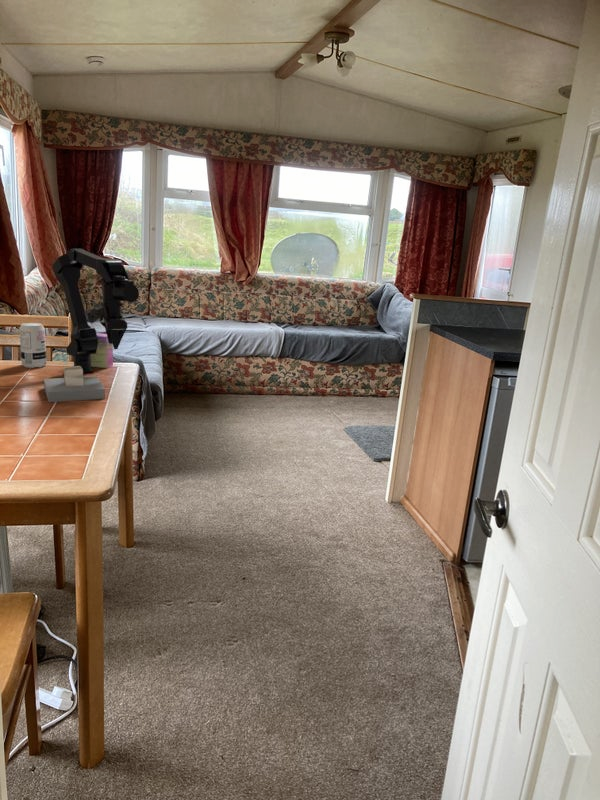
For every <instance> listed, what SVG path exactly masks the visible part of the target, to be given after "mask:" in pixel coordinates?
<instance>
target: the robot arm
mask: <svg viewBox="0 0 600 800" xmlns="http://www.w3.org/2000/svg"><path fill="white" fill-rule="evenodd" d="M84 266H86V267H88V268H91V269H92V270H94V271H95V272H96V274H97V275H98V276H100V277H101V278H100V279H99V280H98V282H97V283H98V284H101V285H102V287H101V290H102V300H101V302H100V306H95V307H93V308H90V309H87V310H85V307H84V303H83V299H82V294H81V291H80V286H79V282H80V279H81V276H82V275H81V270H82V269H83V268H84ZM52 271H53V273H54V276H55V280H56V281H57V282H58V283H59V284H60V285H61V286H62V287H63V291H64V295H65V300H66V303H67V307H68V312H69V316H70V320H71V323H72V331H71V333H70V340H71V341H70V342H69V344H68V345H67V347H66V350H65V351H66V354H67V355H68V356H71V357H73V366H81V367H82V369H83V374H89V373H90V374H91V373H94V370H93V369H92V368H93V367H91V354H96V352H97V347H98V337H97V335H96V333H97V329H96V328H95V327H91V326H90V325H89V323H93V322H95V321H97V320H98V321H99V323H100V324H101V325H102V326H103V327H104V329H105V334H107V338H108V341H109V344H112V343H113V350H118V348H119V346H120V344H121V341H122V339H123V337H124V335H125V332H127V329H128V322H127V321H126V320H125V319H124V318H123V317H124V316H123V315H122V307H123V302H126V303H131V304H132V303H134V302H137V300H138V298H139V294H140V292H139V289H138V287H137V285H135V284H134V280H131V279H130V276H129V274H128V272H127V271H126V268H125V265H124V264H123V262H122V260H121V259H118V258H105V257H102V256H99V255H97V254H95V253H92V252H90V251H87V250H85V249H84V248H71V249H68V251H67V252H65V253H64V254H63V255H61V256H59V257H58V258H56V259H55V260H54V263H52Z"/></svg>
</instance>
